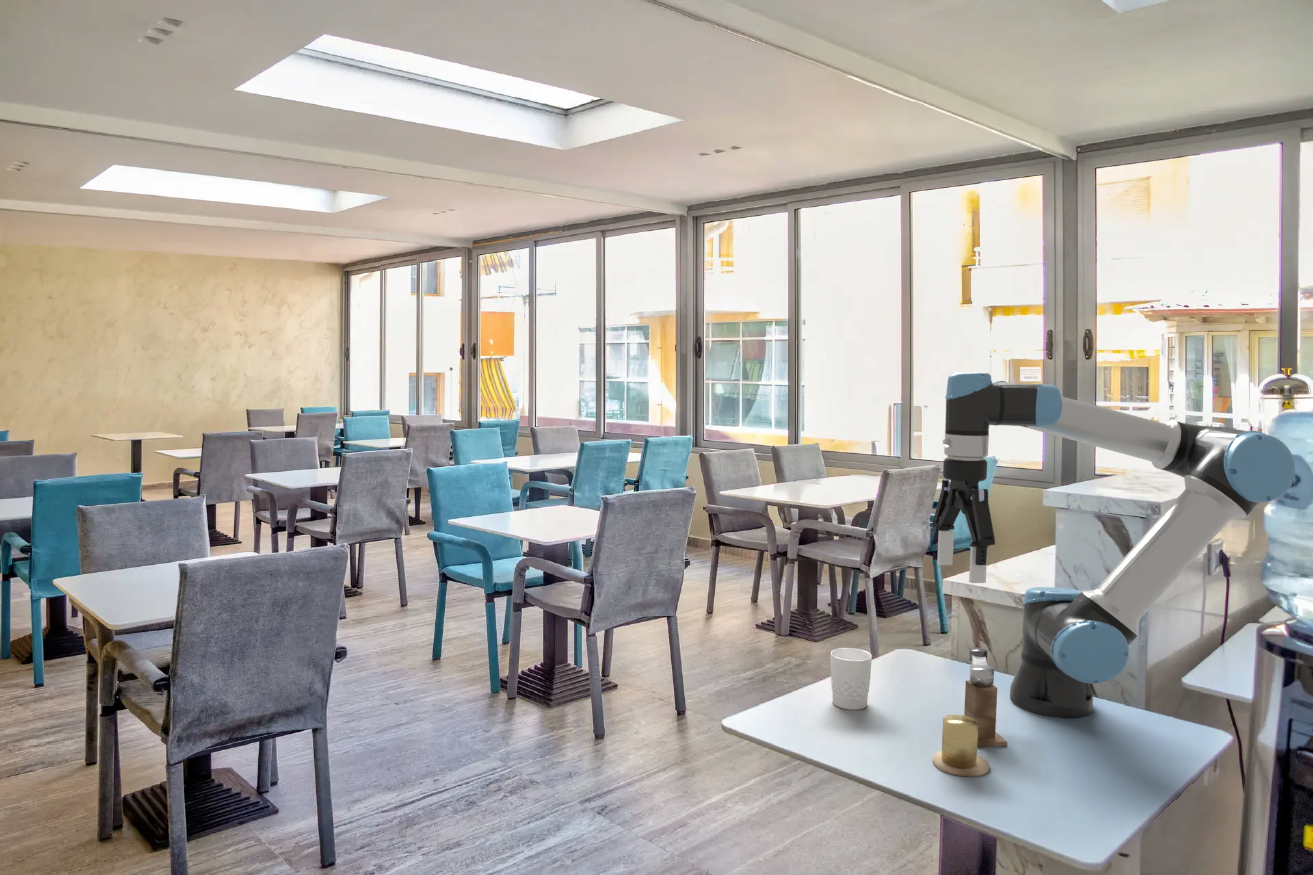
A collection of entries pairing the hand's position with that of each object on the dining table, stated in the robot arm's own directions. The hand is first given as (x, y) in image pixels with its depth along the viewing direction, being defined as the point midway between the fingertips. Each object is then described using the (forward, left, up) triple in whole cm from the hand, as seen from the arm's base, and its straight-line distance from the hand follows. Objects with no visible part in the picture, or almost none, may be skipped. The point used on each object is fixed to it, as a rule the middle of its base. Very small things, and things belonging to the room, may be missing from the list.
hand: (960, 573), depth 169 cm
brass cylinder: (+6, +16, -28) cm, 33 cm away
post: (-2, +6, -29) cm, 29 cm away
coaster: (+6, +16, -29) cm, 33 cm away
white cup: (+16, -12, -29) cm, 35 cm away
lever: (-4, +1, -18) cm, 19 cm away
